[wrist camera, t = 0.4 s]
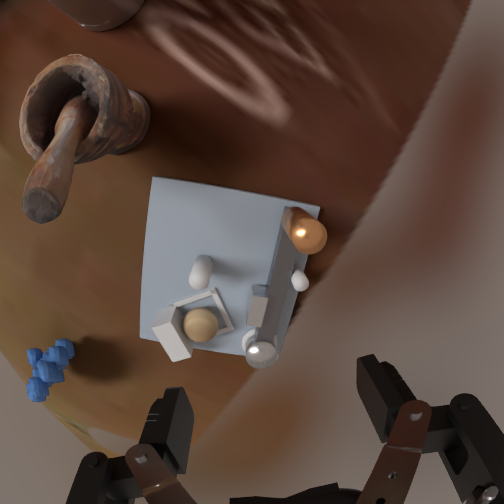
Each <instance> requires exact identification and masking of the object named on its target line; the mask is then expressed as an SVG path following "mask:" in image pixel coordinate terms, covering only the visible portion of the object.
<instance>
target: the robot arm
mask: <svg viewBox="0 0 504 504" xmlns="http://www.w3.org/2000/svg"><path fill="white" fill-rule="evenodd" d="M47 1H48V2H50V3H51V4H52V5H54V6H55V7H57V8H58V9H59V10H61V11H62V12H64V13H65V14H66V15H68V16H69V17H71V18H72V19H73V20H75V21H76V22H77V23H79V24H80V25H81V26H83V27H84V28H86V29H87V30H90V31H98V32H100V31H106V30H110V29H113V28H115V27H117V26H119V25H121V24H123V23H124V22H126V21H127V20H129V19H130V18H131V17H132V16H133V15H134V14H135V13H136V12H137V11H138V10H139V9H140V7H141V6H142V4H143V2H144V0H47ZM356 383H357V390H358V393H359V396H360V398H361V400H362V402H363V404H364V406H365V408H366V411H367V413H368V415H369V417H370V419H371V421H372V423H373V425H374V427H375V430H376V432H377V434H378V436H379V438H380V441H381V443H385V442H387V444H386V445H384V447H383V449H382V451H381V453H380V455H379V458H378V460H377V462H376V464H375V467H374V469H373V471H372V473H371V475H370V477H369V479H368V481H367V483H366V485H365V487H364V489H363V491H360V490H356V489H347V488H339V487H338V484H337V483H332V484H328V485H324V486H319V487H314V488H310V489H308V490H305V491H303V492H300V493H298V494H295V495H292V496H290V497H287V498H270V497H259V496H254V497H241V498H230V504H403V503H404V501H405V498H406V496H407V494H408V491H409V488H410V486H411V483H412V480H413V478H414V475H415V472H416V469H417V466H418V463H419V460H420V457H421V454H424V453H432V452H438V453H439V455H440V457H441V459H442V461H443V463H444V465H445V467H446V470H447V471H448V474H449V476H450V478H451V480H452V482H453V484H454V486H455V489H456V491H457V493H458V495H459V497H460V500H461V502H462V504H504V434H503V433H502V431H501V430H500V428H499V427H498V426H497V424H496V423H495V421H494V420H493V419H492V417H491V416H490V414H489V413H488V412H487V410H486V409H485V408H484V406H483V405H482V404H481V402H480V401H479V400H478V399H477V398H476V397H475V396H473V395H472V394H467V393H463V394H459V395H457V396H455V397H454V398H453V399H452V400H451V402H450V405H443V406H436V407H431V406H430V405H429V404H428V403H426V402H424V401H421V400H417V399H416V397H415V396H414V395H413V393H412V392H411V390H410V389H409V387H408V386H407V384H406V383H405V381H404V380H402V377H401V376H400V375H399V373H398V371H397V370H396V369H395V367H394V366H393V365H391V364H389V363H387V362H386V361H385V362H381V363H379V362H378V360H377V359H376V357H375V355H374V354H370V355H367V356H363V357H360V358H358V359H357V381H356ZM193 425H194V413H193V409H192V407H191V404H190V402H189V400H188V397H187V395H186V392H185V390H184V388H183V387H172V388H166V390H165V393H164V396H163V398H162V399H157V400H156V401H155V402H154V403H153V405H152V406H151V408H150V411H149V415H148V417H147V422H146V423H145V426H144V429H143V432H142V435H141V438H140V441H139V444H137V445H134V446H132V447H131V448H130V449H129V450H128V451H127V452H126V455H125V456H120V457H115V458H109V459H108V458H107V456H106V455H105V454H104V453H101V452H92V453H89V454H87V455H86V456H85V457H84V458H83V459H82V461H81V463H80V466H79V468H78V471H77V474H76V476H75V479H74V482H73V484H72V487H71V490H70V493H69V496H68V499H67V502H66V504H134V502H135V498H139V497H144V498H145V499H146V501H147V502H148V504H197V503H196V502H195V501H194V500H193V498H192V497H191V496H190V495H189V494H188V492H187V491H186V490H185V489H184V488H183V486H182V485H181V484H180V482H179V481H178V480H177V479H176V477H177V474H185V473H186V467H187V461H188V455H189V449H190V443H191V437H192V431H193Z"/></svg>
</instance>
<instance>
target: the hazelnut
mask: <svg viewBox="0 0 504 504" xmlns="http://www.w3.org/2000/svg"><path fill="white" fill-rule="evenodd" d="M183 328H184V331H185V333H186V335H187V336H188V337H189V338H190V339H192V340H193V341H196V342H206V341H209V340H211V339H212V338H213V337H214V336H215V335H216V333H217V331H218V319H217V317H216V315H215V314H214V313H213V312H212V311H211V310H209V309H207V308H204V307H197V308H194V309H192V310H190V311H189V312H188V313H187V314H186V316H185V318H184V321H183Z"/></svg>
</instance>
